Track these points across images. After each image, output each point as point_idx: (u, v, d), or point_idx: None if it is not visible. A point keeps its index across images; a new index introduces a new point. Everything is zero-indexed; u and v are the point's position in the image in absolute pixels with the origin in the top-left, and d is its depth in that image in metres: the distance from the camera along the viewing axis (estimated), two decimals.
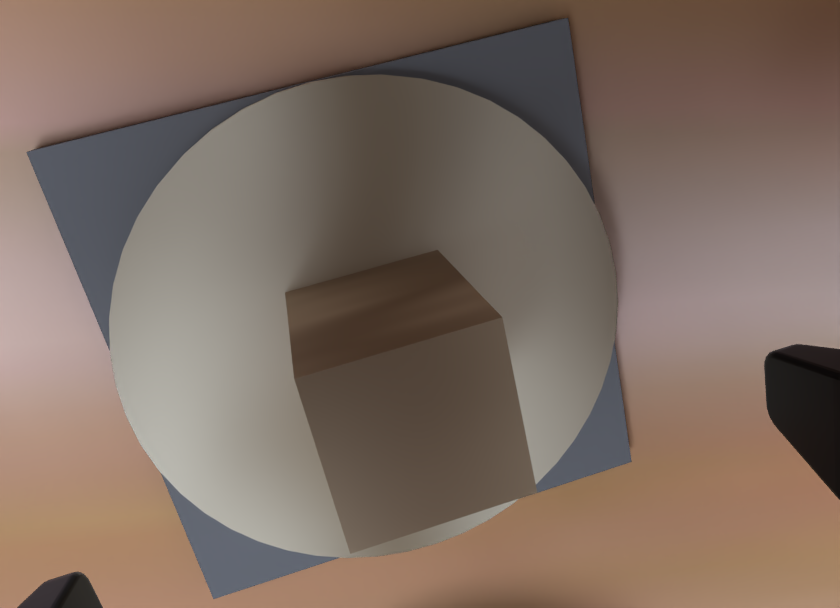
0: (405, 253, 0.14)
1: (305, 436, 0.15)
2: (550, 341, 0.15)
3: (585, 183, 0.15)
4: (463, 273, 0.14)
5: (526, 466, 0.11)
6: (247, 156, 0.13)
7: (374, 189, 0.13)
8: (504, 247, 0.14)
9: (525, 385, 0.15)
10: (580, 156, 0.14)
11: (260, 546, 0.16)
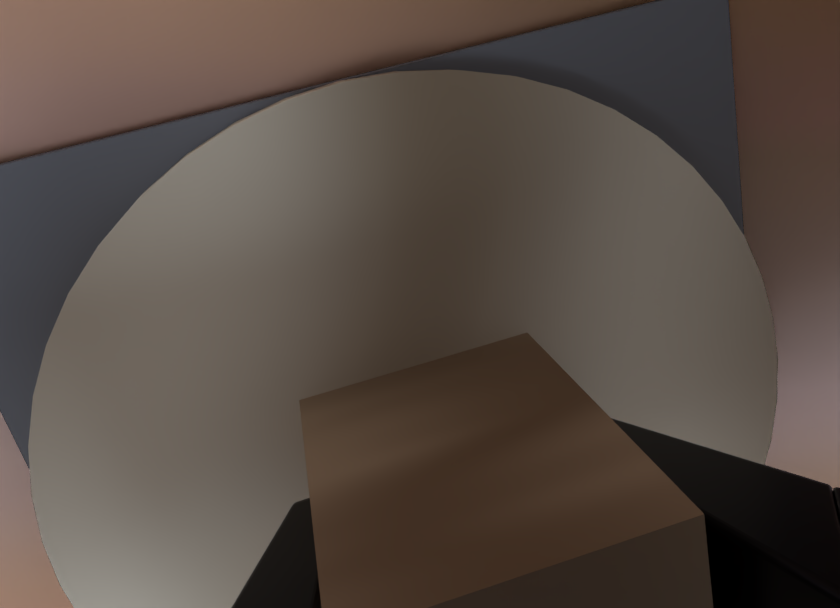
0: (480, 338, 0.09)
1: None
2: None
3: None
4: (563, 365, 0.10)
5: None
6: (241, 198, 0.08)
7: (436, 245, 0.09)
8: (623, 326, 0.10)
9: None
10: (730, 190, 0.10)
11: None
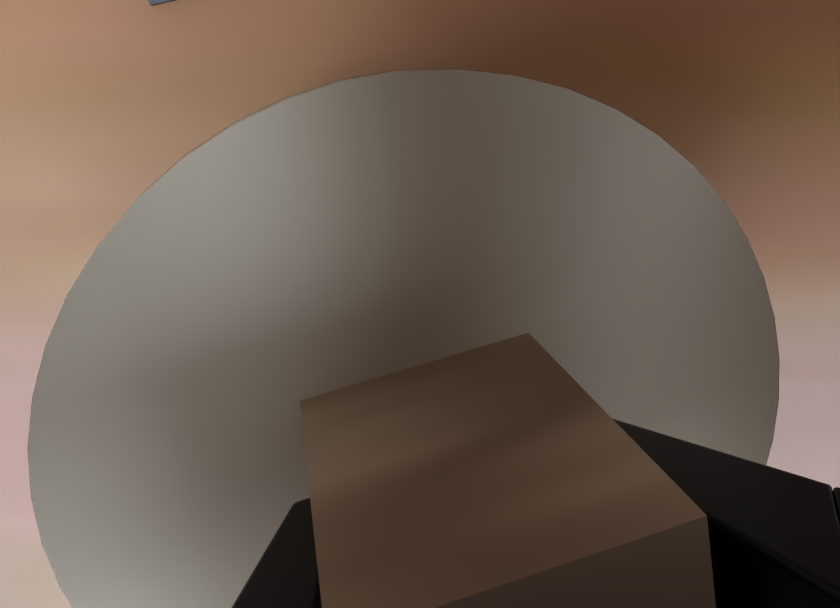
0: (481, 339, 0.09)
1: None
2: None
3: None
4: (564, 366, 0.09)
5: None
6: (240, 198, 0.08)
7: (437, 246, 0.09)
8: (625, 327, 0.10)
9: None
10: None
11: None
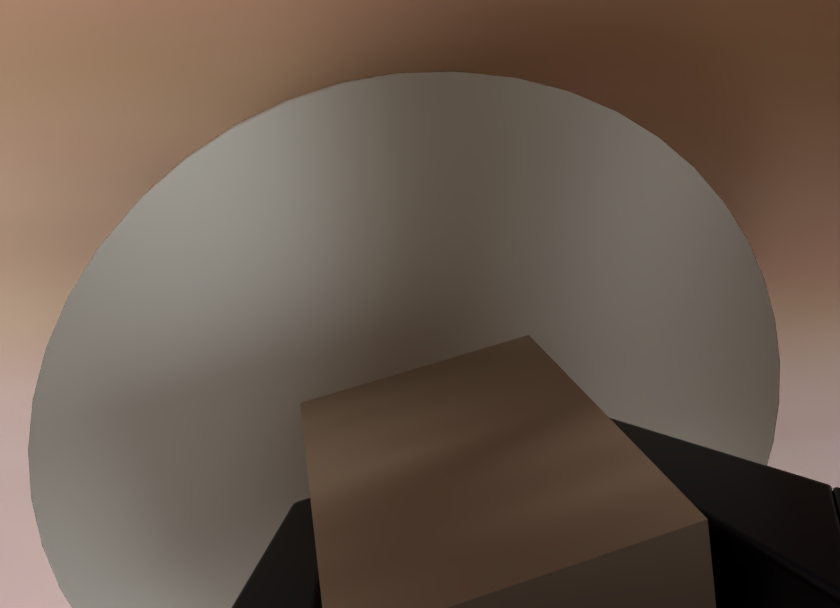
0: (481, 342, 0.09)
1: None
2: None
3: None
4: (564, 368, 0.09)
5: None
6: (241, 200, 0.08)
7: (438, 248, 0.09)
8: (625, 329, 0.10)
9: None
10: None
11: None
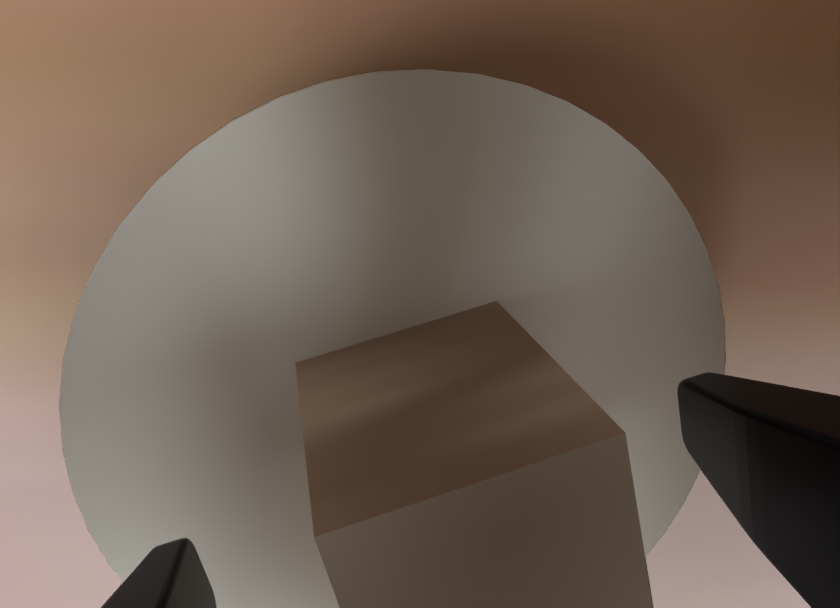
0: (454, 306, 0.10)
1: None
2: (639, 412, 0.12)
3: None
4: (530, 330, 0.11)
5: None
6: (241, 185, 0.09)
7: (413, 224, 0.10)
8: (583, 295, 0.11)
9: None
10: None
11: None
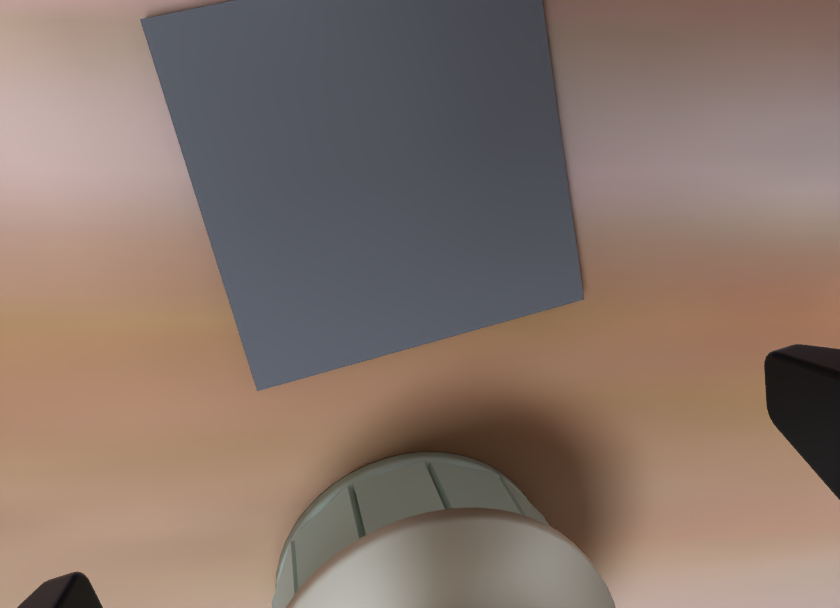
0: None
1: None
2: None
3: (547, 67, 0.20)
4: None
5: None
6: (361, 580, 0.18)
7: (448, 589, 0.19)
8: None
9: None
10: (543, 46, 0.19)
11: (295, 349, 0.20)
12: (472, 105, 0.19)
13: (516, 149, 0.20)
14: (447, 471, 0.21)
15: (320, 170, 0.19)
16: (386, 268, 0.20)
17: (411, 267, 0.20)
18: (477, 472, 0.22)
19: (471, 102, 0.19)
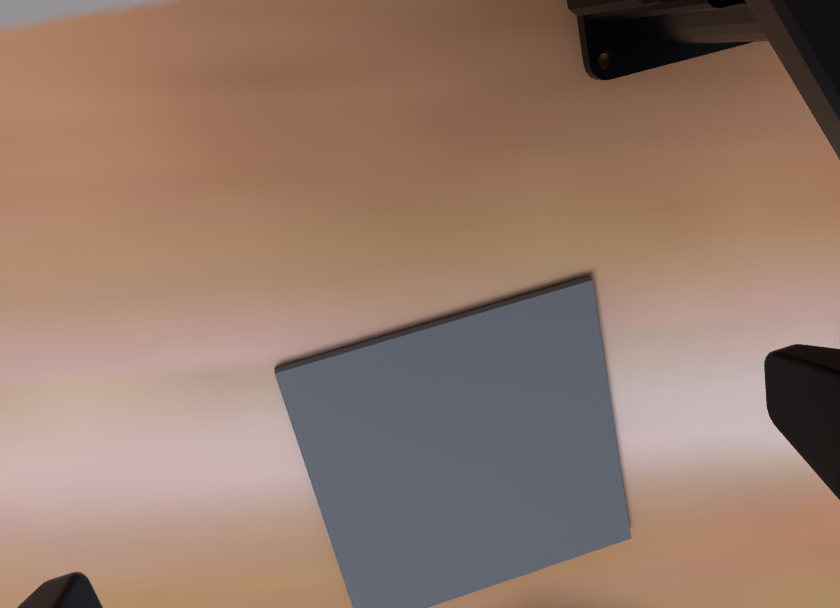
0: None
1: None
2: None
3: (602, 371, 0.23)
4: None
5: None
6: None
7: None
8: None
9: None
10: (599, 356, 0.23)
11: (392, 596, 0.24)
12: (540, 405, 0.23)
13: (576, 433, 0.24)
14: None
15: (415, 465, 0.23)
16: (467, 531, 0.24)
17: (487, 528, 0.24)
18: None
19: (539, 404, 0.23)
